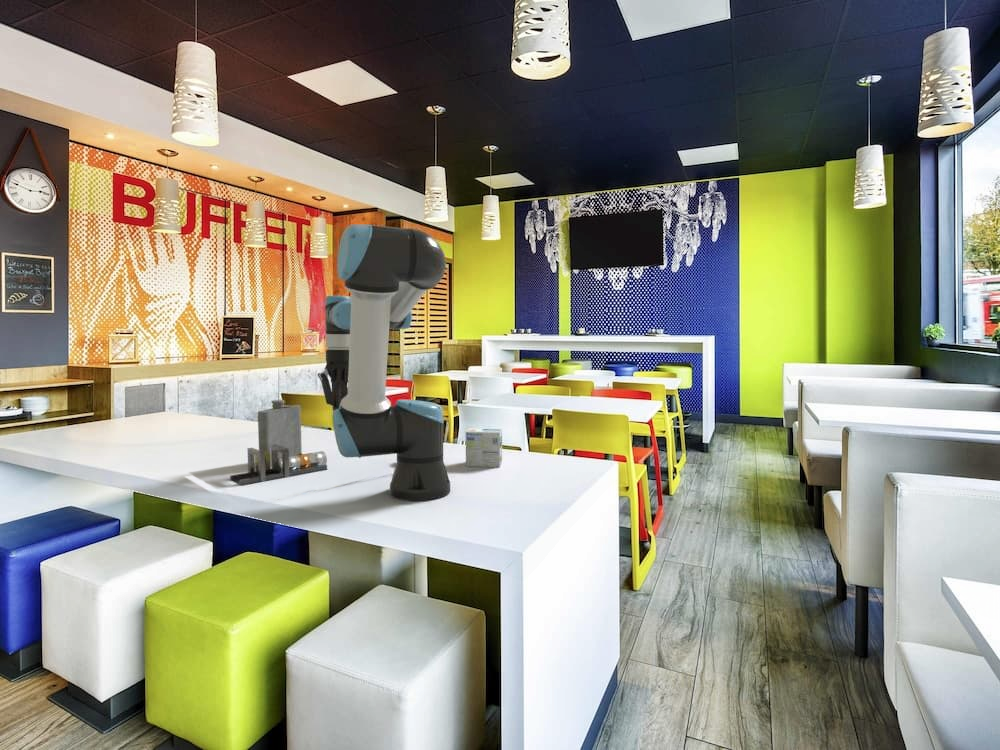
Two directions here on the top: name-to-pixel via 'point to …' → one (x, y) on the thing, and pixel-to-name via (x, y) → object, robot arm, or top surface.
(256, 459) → the aperture plate
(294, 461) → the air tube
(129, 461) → the top surface
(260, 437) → the hip flask
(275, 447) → the grey metal bracket
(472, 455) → the light bulb box
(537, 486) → the top surface
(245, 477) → the black base plate
